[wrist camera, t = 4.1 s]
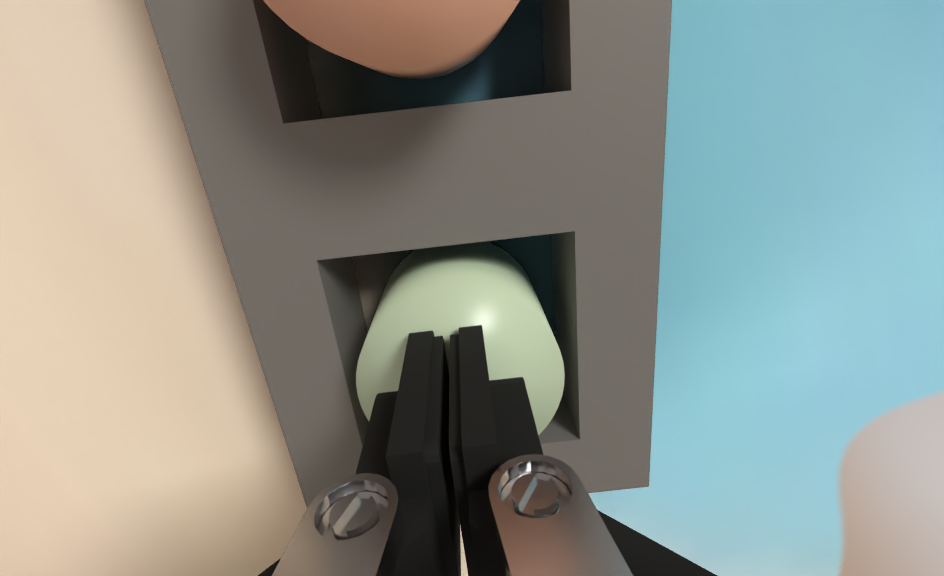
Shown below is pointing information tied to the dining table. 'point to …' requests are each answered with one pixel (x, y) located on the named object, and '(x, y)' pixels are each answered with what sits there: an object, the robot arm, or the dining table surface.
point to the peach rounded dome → (399, 31)
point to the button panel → (436, 211)
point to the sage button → (464, 322)
